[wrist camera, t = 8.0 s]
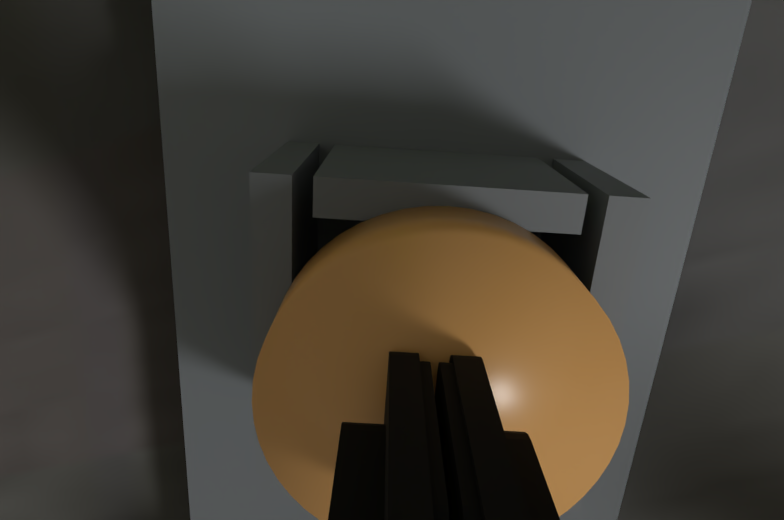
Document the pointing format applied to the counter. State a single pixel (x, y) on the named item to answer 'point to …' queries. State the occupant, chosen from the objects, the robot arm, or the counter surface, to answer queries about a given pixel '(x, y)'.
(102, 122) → the counter surface
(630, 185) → the console
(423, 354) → the knob
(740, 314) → the counter surface
